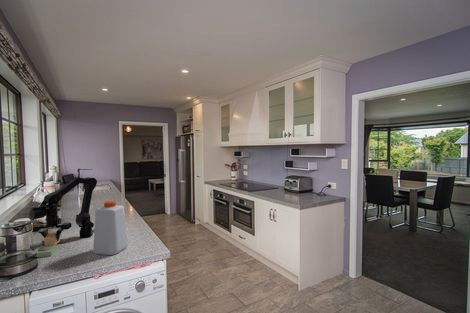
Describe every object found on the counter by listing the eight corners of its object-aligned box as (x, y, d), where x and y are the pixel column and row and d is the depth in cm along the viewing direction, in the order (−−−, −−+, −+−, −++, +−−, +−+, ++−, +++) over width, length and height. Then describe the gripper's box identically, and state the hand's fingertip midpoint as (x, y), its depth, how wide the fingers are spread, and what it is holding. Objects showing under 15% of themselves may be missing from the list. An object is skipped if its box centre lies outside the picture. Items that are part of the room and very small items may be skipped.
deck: (66, 242, 160) (65, 237, 160) (51, 256, 139) (51, 250, 139) (42, 244, 156) (41, 239, 156) (23, 258, 136) (23, 253, 136)
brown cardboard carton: (60, 240, 157) (59, 231, 157) (54, 245, 149) (54, 235, 149) (50, 241, 155) (50, 231, 155) (44, 246, 148) (44, 236, 148)
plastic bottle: (114, 256, 138) (113, 205, 137) (90, 254, 141) (88, 204, 140) (130, 245, 153) (129, 199, 152) (108, 244, 156) (107, 199, 155)
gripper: (74, 211, 162) (75, 235, 163) (40, 213, 157) (41, 238, 158) (67, 215, 151) (68, 241, 152) (30, 218, 147) (31, 244, 147)
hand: (52, 241), depth 153 cm, fingers closed on brown cardboard carton, 5 cm apart
